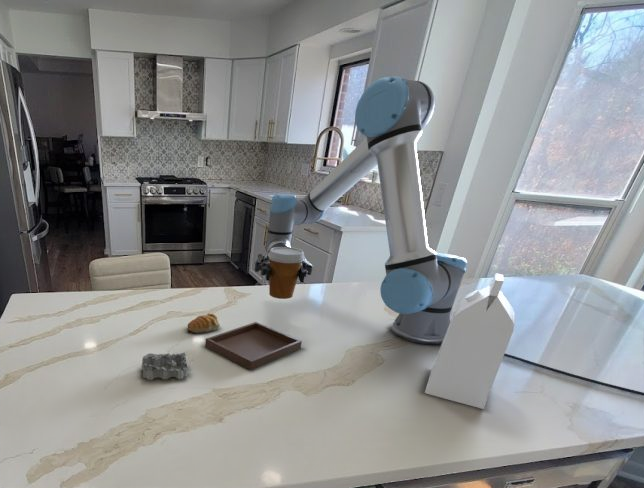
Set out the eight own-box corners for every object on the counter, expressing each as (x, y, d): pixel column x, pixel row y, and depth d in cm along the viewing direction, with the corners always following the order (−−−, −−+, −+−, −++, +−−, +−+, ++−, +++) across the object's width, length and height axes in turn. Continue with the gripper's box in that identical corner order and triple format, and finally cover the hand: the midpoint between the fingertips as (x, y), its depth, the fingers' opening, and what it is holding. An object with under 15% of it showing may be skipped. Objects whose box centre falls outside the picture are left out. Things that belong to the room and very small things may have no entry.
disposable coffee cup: (259, 297, 115) (264, 252, 109) (268, 287, 123) (273, 244, 117) (294, 303, 112) (301, 256, 106) (301, 292, 120) (308, 248, 114)
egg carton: (141, 380, 98) (140, 365, 96) (142, 365, 104) (142, 350, 102) (187, 380, 99) (188, 364, 96) (186, 365, 105) (186, 350, 103)
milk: (483, 409, 91) (536, 290, 78) (424, 393, 96) (464, 279, 83) (484, 385, 100) (532, 275, 87) (430, 371, 105) (468, 266, 92)
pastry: (196, 336, 120) (196, 323, 118) (181, 329, 124) (181, 316, 122) (221, 328, 125) (222, 316, 123) (206, 321, 129) (206, 309, 127)
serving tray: (300, 348, 115) (302, 340, 114) (250, 370, 104) (251, 361, 102) (254, 329, 125) (255, 321, 124) (205, 346, 114) (205, 338, 113)
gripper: (312, 269, 130) (324, 293, 111) (244, 265, 132) (243, 288, 113) (317, 243, 127) (329, 264, 107) (246, 240, 128) (246, 259, 109)
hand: (285, 276), depth 110 cm, fingers closed on disposable coffee cup, 8 cm apart
